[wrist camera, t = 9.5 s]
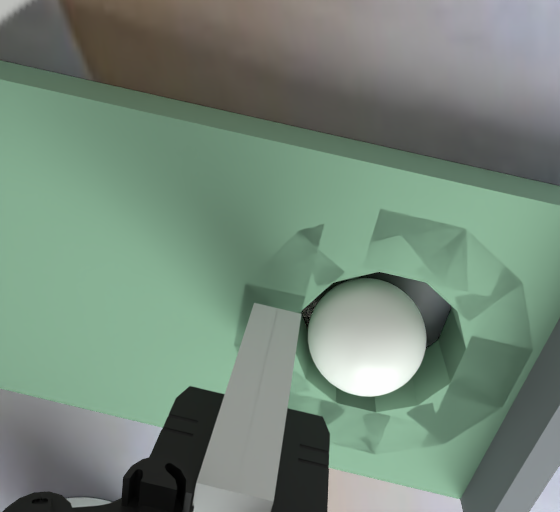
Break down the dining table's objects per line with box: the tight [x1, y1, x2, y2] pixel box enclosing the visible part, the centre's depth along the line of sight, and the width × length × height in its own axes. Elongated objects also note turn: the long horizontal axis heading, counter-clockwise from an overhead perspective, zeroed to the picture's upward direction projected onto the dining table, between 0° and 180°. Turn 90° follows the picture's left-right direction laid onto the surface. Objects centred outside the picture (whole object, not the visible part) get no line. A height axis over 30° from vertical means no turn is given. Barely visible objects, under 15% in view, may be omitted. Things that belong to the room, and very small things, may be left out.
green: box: [0, 60, 560, 512], centre depth 17 cm, size 30×12×4 cm, turn 79°
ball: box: [308, 278, 426, 397], centre depth 17 cm, size 4×4×4 cm
